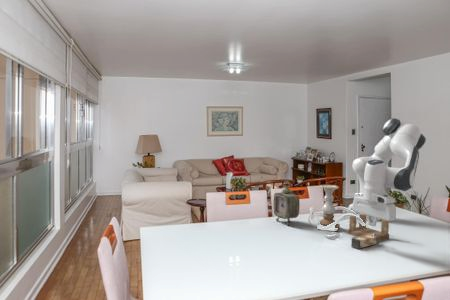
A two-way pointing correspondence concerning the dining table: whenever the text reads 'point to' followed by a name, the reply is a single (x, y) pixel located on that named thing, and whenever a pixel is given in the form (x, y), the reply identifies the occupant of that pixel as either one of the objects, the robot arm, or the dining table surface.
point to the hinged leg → (364, 241)
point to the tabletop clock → (286, 204)
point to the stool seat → (367, 231)
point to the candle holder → (328, 206)
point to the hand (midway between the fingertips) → (372, 225)
